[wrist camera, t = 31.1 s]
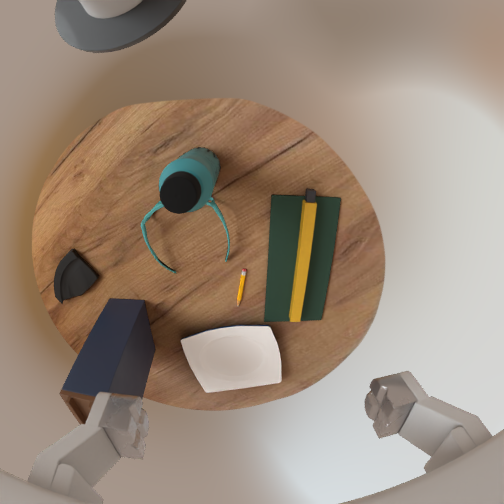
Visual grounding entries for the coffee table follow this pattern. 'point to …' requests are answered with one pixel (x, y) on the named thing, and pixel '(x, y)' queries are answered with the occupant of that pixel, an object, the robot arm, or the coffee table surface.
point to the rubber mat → (285, 254)
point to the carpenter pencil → (303, 254)
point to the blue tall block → (111, 357)
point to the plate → (234, 357)
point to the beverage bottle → (189, 181)
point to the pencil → (241, 286)
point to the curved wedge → (73, 276)
